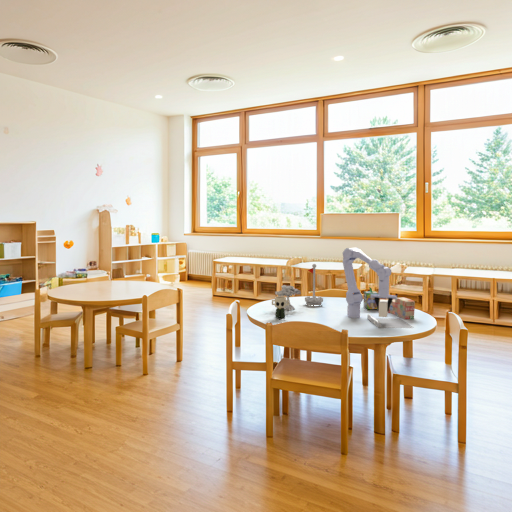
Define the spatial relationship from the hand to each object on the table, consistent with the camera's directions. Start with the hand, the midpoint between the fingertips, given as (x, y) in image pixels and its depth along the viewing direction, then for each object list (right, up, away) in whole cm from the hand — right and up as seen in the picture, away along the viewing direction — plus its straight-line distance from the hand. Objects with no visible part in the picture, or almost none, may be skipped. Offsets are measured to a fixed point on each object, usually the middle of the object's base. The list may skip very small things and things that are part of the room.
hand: (383, 310), depth 239 cm
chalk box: (+6, -5, +45) cm, 45 cm away
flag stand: (-33, -4, +57) cm, 66 cm away
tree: (-52, -5, +43) cm, 68 cm away
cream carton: (0, -2, 0) cm, 3 cm away
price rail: (-5, -7, +1) cm, 9 cm away
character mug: (-59, -7, +18) cm, 62 cm away
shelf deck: (+4, -8, +1) cm, 9 cm away
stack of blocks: (+17, -7, +21) cm, 28 cm away
